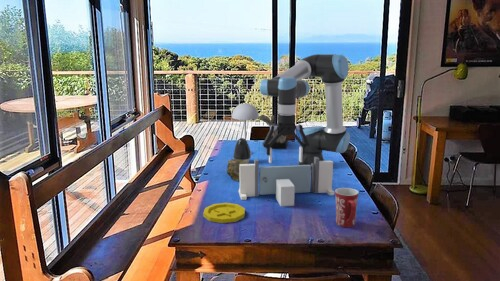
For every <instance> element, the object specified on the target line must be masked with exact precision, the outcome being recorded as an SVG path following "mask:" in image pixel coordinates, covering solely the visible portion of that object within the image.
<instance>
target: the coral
mask: <svg viewBox="0 0 500 281" xmlns="http://www.w3.org/2000/svg"><path fill="white" fill-rule="evenodd" d="M258 119H259V120H260V121H262V122H264V123H265V124H267V125H268V126H269V128H270V126H271V125H273V126H277V125H278V122H277V123H275V122H274V120H275V115H271V116H270V117H268V116H267V115H265V114H261V115H260V116H259V118H258ZM277 132H278V130H277V129H275V131H273V134H272V136H271V138H270V140H269V142H270V141H271V140H272V138H273V137H274V136H275V135H276V133H277ZM269 142H268V143H269ZM288 144H289V137H287V135H286V136H283V135H281V136H280V137H279V138H278V139H277V140H276V142H275V143H274V144H273V145H272V146H271V148H272V150H286V149H287V147H288Z"/></svg>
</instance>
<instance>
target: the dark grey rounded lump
mask: <svg viewBox="0 0 500 281" xmlns="http://www.w3.org/2000/svg"><path fill="white" fill-rule="evenodd" d="M250 151H251V149H250V146H249V143H248V140H247V139H246V140H245V137H244V138H243V137H241V138H239V139H238V140H237V142H236V143H235V146H234V150H233V158H232V159H240V160H243V161H244V162H249V163H250V160H251V157H252V156H251V155H252V154H250Z"/></svg>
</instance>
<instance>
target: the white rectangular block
mask: <svg viewBox="0 0 500 281" xmlns="http://www.w3.org/2000/svg"><path fill="white" fill-rule="evenodd" d="M294 192H295V186H294V185H293V183H292V182H291V181H290V180H289V179H280V180H276V194H275V199H276V201H277V202H278V205H279V207H294V206H295V193H294Z"/></svg>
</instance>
